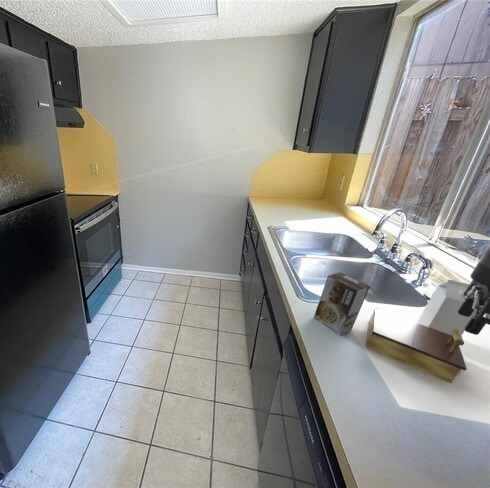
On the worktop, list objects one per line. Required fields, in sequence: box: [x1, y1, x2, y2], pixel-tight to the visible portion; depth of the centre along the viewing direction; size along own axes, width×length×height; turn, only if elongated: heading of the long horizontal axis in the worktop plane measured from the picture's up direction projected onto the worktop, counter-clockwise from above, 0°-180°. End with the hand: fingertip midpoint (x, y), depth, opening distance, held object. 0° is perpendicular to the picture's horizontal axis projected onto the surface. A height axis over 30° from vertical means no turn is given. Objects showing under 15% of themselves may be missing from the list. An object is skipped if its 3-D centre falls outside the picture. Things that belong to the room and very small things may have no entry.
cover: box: [372, 308, 468, 371], centre depth 70 cm, size 18×14×5 cm
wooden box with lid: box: [365, 311, 462, 384], centre depth 73 cm, size 18×14×5 cm
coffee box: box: [313, 271, 371, 336], centre depth 79 cm, size 9×6×16 cm
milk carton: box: [416, 278, 482, 336], centre depth 75 cm, size 7×7×19 cm
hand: (466, 323), depth 64 cm, fingers open, 8 cm apart
